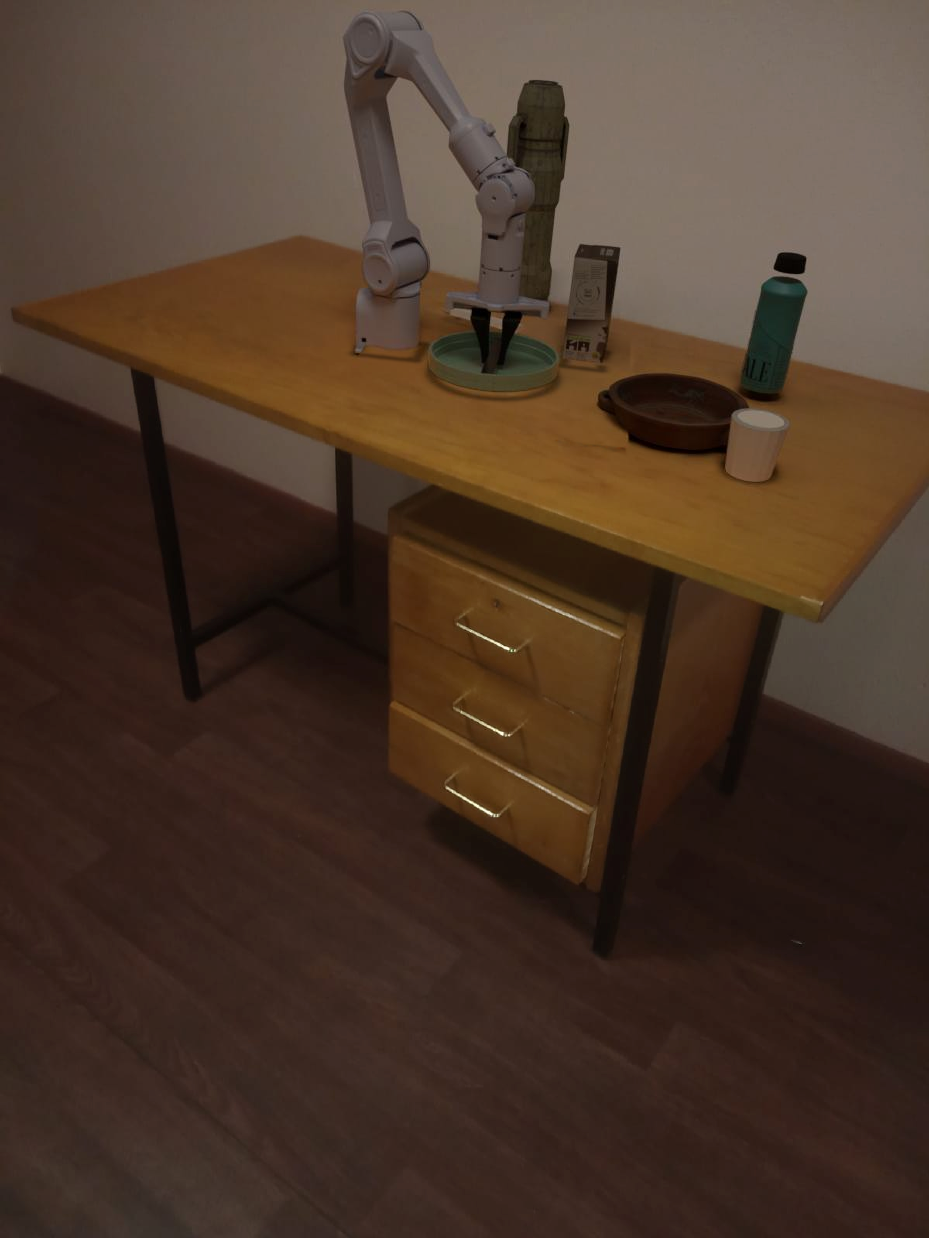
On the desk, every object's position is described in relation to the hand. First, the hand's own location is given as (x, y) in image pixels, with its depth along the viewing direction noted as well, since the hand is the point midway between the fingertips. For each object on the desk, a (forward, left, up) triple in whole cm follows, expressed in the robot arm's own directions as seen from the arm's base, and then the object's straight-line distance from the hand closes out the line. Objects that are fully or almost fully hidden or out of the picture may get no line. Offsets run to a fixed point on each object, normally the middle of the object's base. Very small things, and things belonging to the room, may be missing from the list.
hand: (493, 362), depth 139 cm
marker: (-5, +22, -2) cm, 22 cm away
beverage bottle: (+39, +4, -2) cm, 39 cm away
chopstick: (0, 0, -1) cm, 1 cm away
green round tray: (0, 0, -2) cm, 2 cm away
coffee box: (+13, +12, -2) cm, 17 cm away
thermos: (+1, +36, -2) cm, 36 cm away
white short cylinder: (+35, -24, -2) cm, 42 cm away
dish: (+26, -14, -2) cm, 29 cm away
